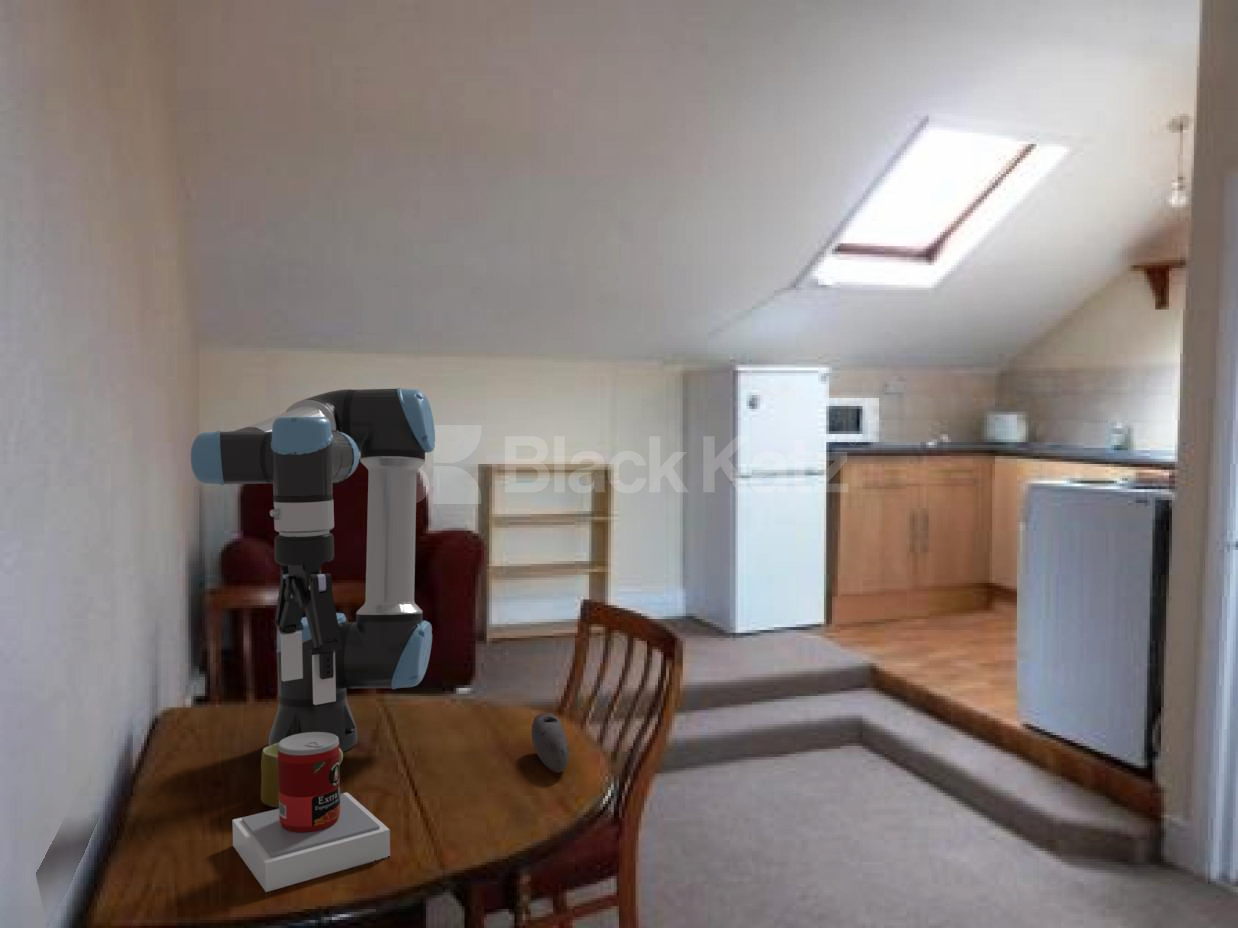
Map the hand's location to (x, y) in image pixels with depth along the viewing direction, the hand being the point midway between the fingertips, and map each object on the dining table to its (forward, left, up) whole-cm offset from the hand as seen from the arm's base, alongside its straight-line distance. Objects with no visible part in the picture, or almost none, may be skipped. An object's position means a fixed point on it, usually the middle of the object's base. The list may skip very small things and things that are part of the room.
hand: (307, 690), depth 125 cm
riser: (0, 0, -22) cm, 22 cm away
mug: (-19, +5, -22) cm, 29 cm away
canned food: (0, 0, -18) cm, 18 cm away
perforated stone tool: (-8, +43, -22) cm, 49 cm away
